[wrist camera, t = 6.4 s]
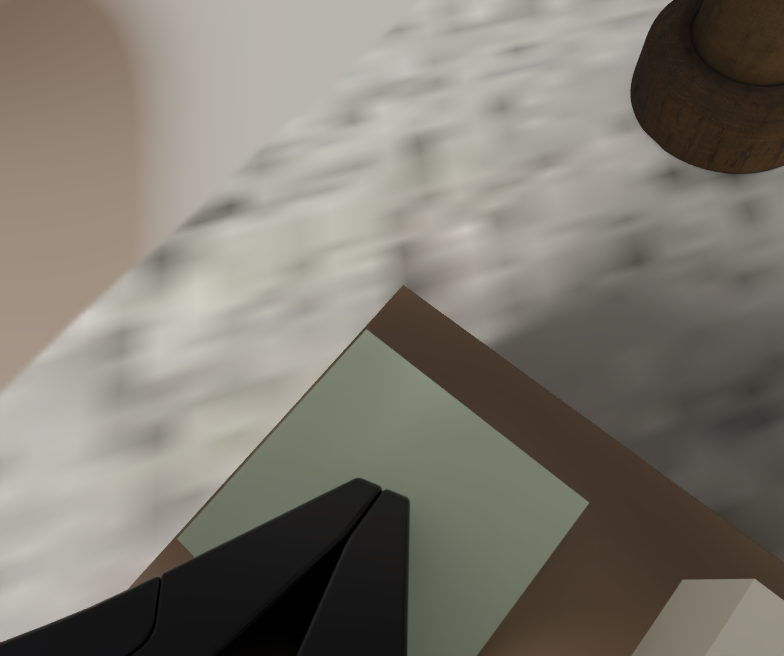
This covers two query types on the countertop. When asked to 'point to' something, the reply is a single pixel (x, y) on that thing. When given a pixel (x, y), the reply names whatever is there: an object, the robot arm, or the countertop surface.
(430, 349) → the keypad console
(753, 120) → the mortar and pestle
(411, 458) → the sage key
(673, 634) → the cream key
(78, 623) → the robot arm
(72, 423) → the countertop surface
